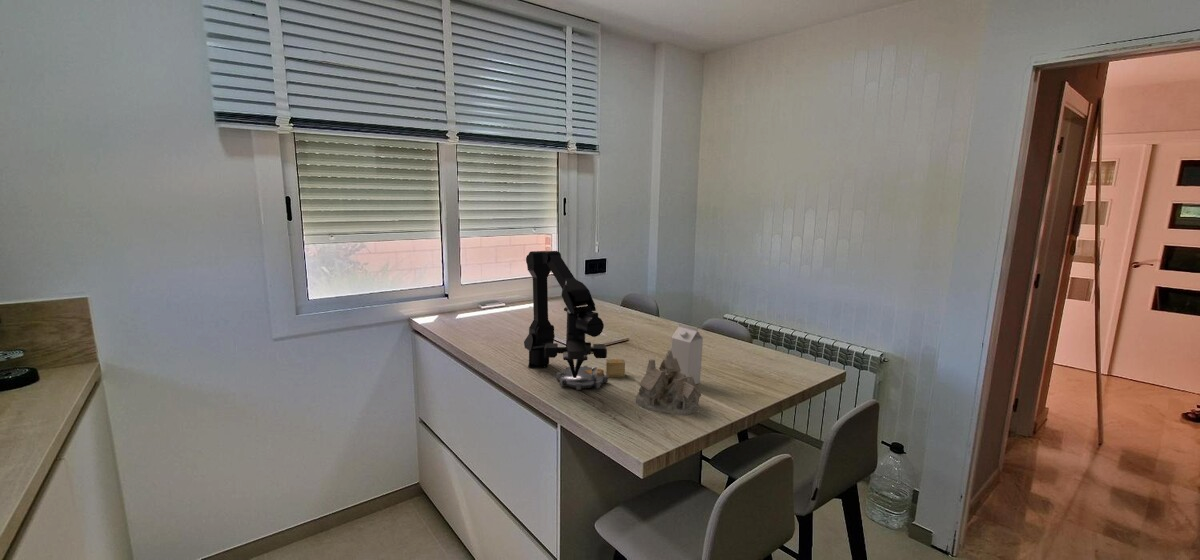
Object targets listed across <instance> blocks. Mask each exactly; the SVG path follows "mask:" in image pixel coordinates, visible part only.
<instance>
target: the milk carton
mask: <svg viewBox="0 0 1200 560" xmlns="http://www.w3.org/2000/svg"><path fill="white" fill-rule="evenodd" d="M698 329H699V328H698V327H696V326H691V325H689V324H688V325H687V324H683V323H680V322H679V323H678V326H677V328H676V330H675V332H674V333H673V334H672V336H671V345H670V346H671V347H670V348H671V349H670V350H671V351H672V355H673V358H677V361H678V364H679V366H680V369H681V371H680V373H683V374H685V375H686V377H688V375H692V377H693V379H694V382H695V385H696V386H697V385H698V384H700V383H701V374H702V373H701V370H702V359H703V358H702V357H703V347H704V346H703V345H704V344H703V343H704V338H703V336H702V335H701V333H700V332H699V330H698Z"/></svg>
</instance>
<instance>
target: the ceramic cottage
mask: <svg viewBox="0 0 1200 560" xmlns="http://www.w3.org/2000/svg"><path fill="white" fill-rule="evenodd" d="M664 356H665V357H664V359H662V361H661V364H660V365H659V367H658V368H657V367H656V361H655V359H654V358H649V359H648V363H647V367H646V373H645V374H644V376H643V377H642V379H641V380H640V382H639V383H638V385H639V389H638V391H639V392H637V395H636V397H635V404H636V405H637V406H639V407H641V408H643V409H646V410H648V411H653V412H660V413H666V414H672V415H678V416H687V415H691V414H695V413H699V412H698V411H700V406H699V403H700V398H701V396H702V393H701V392H700V391H699V390H698V387H697V384H696V385H695V382H694V379H693V377H692V375H688V377H686V375H685V374H683V373H680V371H681V369H680V366H679V364H678V361H677V358H673V355H672V351H671V349H667V352H666V353H665V355H664Z"/></svg>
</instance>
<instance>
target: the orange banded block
mask: <svg viewBox="0 0 1200 560" xmlns="http://www.w3.org/2000/svg"><path fill="white" fill-rule="evenodd" d="M625 370H626V362H625V359H624V358H623V359H620V358H619V359H618V358H617V359H615V358H613V359H612V358H611V359H610V358H609V359H607V358H605V375H608V378H625V376H626V375H625V374H626V371H625Z"/></svg>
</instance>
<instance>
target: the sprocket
mask: <svg viewBox="0 0 1200 560" xmlns="http://www.w3.org/2000/svg"><path fill="white" fill-rule="evenodd" d="M575 367H576V366H574V369H575ZM555 378H556V380H559V386H561V387H564V386H566V387H568V388H573V389H575V390H576V391H582V390H581V389H593V388H595V389H600V388H601V385H603V384H604V383H608V382H609V377H608V375H606V374H605V372H604V369H602V368H598V367H596V366H593V367H589V366H588V365H583V366H580V369H579V371H578V374H577V377H576V378H573V375H572V371H571V368H570V366H566V367H565V369H564V370H561V371H557V372H556V377H555Z"/></svg>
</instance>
